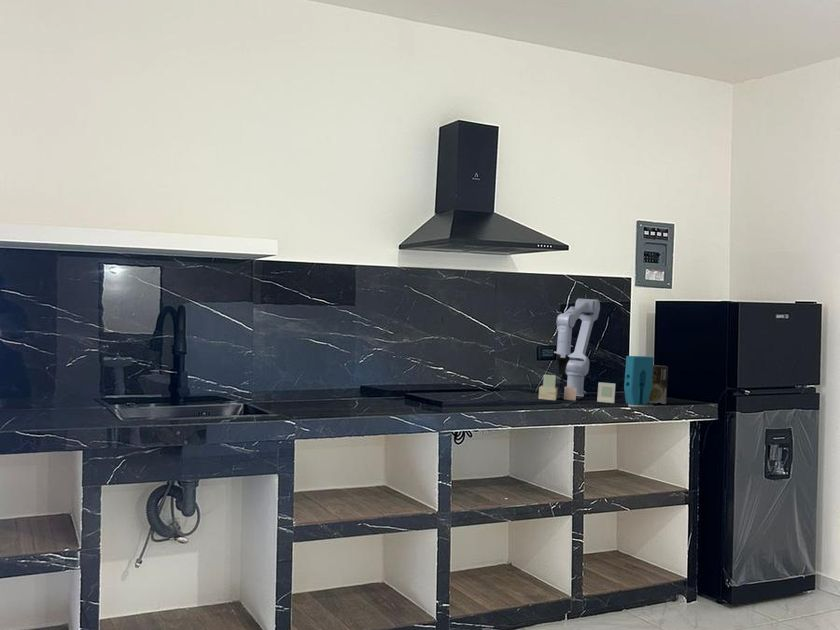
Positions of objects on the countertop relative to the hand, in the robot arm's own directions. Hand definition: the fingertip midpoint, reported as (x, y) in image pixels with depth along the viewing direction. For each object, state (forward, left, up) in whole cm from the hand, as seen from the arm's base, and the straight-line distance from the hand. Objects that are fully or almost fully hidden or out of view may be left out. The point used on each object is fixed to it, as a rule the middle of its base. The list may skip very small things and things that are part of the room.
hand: (561, 373), depth 373 cm
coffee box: (-13, +40, -11) cm, 43 cm away
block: (-3, +32, -11) cm, 34 cm away
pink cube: (+1, +4, -10) cm, 11 cm away
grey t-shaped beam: (0, +19, -10) cm, 22 cm away
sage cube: (+6, -5, -6) cm, 10 cm away
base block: (+6, -5, -11) cm, 13 cm away
